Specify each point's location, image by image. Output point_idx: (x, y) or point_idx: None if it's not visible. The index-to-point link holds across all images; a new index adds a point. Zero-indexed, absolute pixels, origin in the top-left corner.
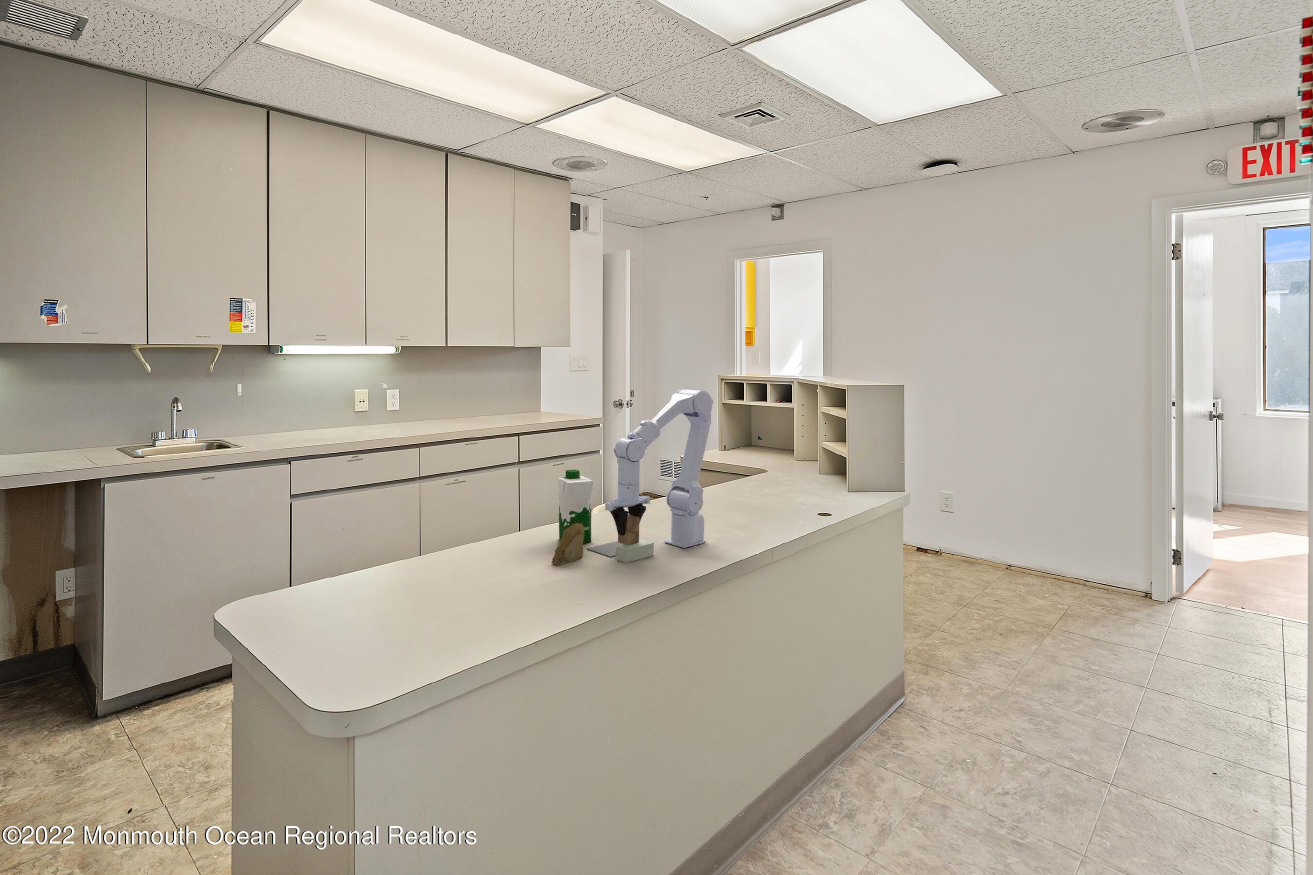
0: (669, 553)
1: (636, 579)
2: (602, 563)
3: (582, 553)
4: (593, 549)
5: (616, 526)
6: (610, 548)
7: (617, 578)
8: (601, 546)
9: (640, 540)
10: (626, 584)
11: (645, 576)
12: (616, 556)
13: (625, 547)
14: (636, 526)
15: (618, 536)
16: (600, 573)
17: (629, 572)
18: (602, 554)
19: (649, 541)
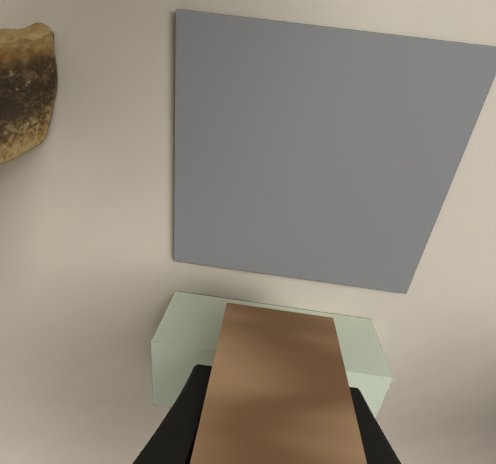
0: (425, 403)
1: (80, 446)
2: (82, 284)
3: (21, 152)
4: (192, 78)
5: (163, 422)
6: (294, 156)
7: (32, 409)
8: (293, 64)
9: (362, 374)
10: (27, 446)
11: (122, 452)
12: (170, 305)
13: (177, 385)
14: None
15: (220, 337)
16: (4, 349)
17: (105, 407)
18: (176, 191)
19: (375, 415)
